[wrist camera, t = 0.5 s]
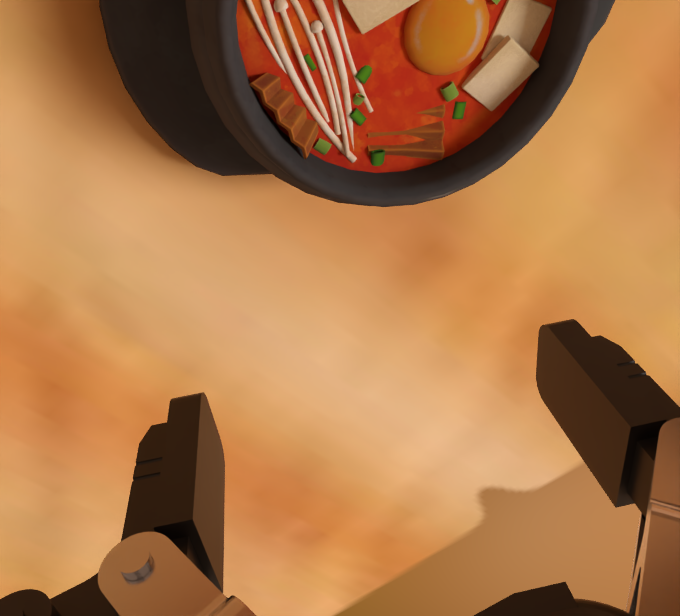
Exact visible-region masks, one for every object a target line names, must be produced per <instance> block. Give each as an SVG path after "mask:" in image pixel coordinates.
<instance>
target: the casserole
mask: <svg viewBox="0 0 680 616" xmlns="http://www.w3.org/2000/svg"><path fill="white" fill-rule="evenodd" d="M614 2H615V0H99V3H100V11H101V15H102V19H103V24H104V28H105V33H106V37H107V42H108V46H109V50H110V52H111V54H112V57H113V59H114V62H115V64H116V66H117V69H118V71H119V74H120V76H121V79H122V81H123V83H124V86H125V88H126V90H127V91H128V93H129V94H130V96H131V97H132V99H133V101H134V102H135V104H136V105H137V107H138V108H139V110H140V111H141V113H142V114H143V116H144V118H145V119H146V121H147V122H148V123H149V124H150V125H151V126H152V128H153V129H154V130H155V131H156V132H157V133H158V134H159V135H160V136H161V137H162V138H163V140H164V141H165V142H166V143H167V144H168V145H169V146H170V147H171V148H172V149H173V150H174V151H176V152H177V153H178V154H180V155H181V156H183V157H184V158H185V159H187V160H188V161H189V162H191V163H192V164H193V165H195V166H196V167H199V168H202V169H205V170H208V171H210V172H213V173H216V174H219V175H222V176H230V175H255V174H273V175H275V176H276V177H277V178H279V179H281V180H283V181H285V182H287V183H289V184H290V185H292V186H294V187H296V188H298V189H300V190H302V191H304V192H306V193H308V194H311V195H315V196H318V197H321V198H325V199H328V200H331V201H335V202H338V203H347V204H356V205H365V206H379V207H389V206H402V205H414V204H418V203H422V202H426V201H430V200H434V199H438V198H442V197H445V196H448V195H450V194H452V193H454V192H457V191H459V190H461V189H463V188H466V187H468V186H470V185H473V184H475V183H476V182H478V181H479V180H481V179H482V178H484V177H485V176H487V175H489V174H490V173H492V172H493V171H495V170H496V169H498V168H500V167H501V166H503V165H504V164H505V163H506V162H507V161H508V160H509V159H510V158H512V157H513V156H514V155H515V154H516V153H517V152H518V151H520V150H521V149H522V148H523V147H524V146H525V145H526V144H528V143H529V141H530V140H531V139H532V138H533V137H534V136H535V134H536V133H537V132H538V131H539V130H540V128H541V127H542V126H543V125H544V124H545V123H546V121H547V120H548V119H549V118H550V117H551V116H552V114H553V112H554V111H555V109H556V108H557V106H558V104H559V103H560V101H561V100H562V98H563V96H564V95H565V93H566V92H567V90H568V88H569V87H570V85H571V84H572V81H573V79H574V77H575V74H576V72H577V70H578V68H579V65H580V63H581V61H582V58H583V56H584V54H585V52H586V49H587V47H588V44H589V43H590V41H591V40H592V39H593V38H594V36H595V35H596V34H597V32H598V31H599V30H600V29H601V27H602V26H603V25H604V23H605V22H606V19H607V17H608V15H609V13H610V10H611V8H612V6H613V4H614Z"/></svg>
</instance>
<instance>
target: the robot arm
mask: <svg viewBox="0 0 680 616" xmlns="http://www.w3.org/2000/svg"><path fill="white" fill-rule="evenodd" d="M536 381H537V387H538V390H539V393H540V396H541V398H542V400H543V401H544V403H545V404H546V406H547V407H548V409H549V410H550V412H551V413H552V415H553V416H554V418H555V419H556V421H557V422H558V424H559V425H560V426H561V428H562V429H563V431H564V432H565V434H566V435H567V437H568V438H569V440H570V441H571V443H572V444H573V446H574V447H575V449H576V450H577V451H578V453H579V454H580V456H581V457H582V459H583V460H584V462H585V463H586V464H587V466H588V468H589V469H590V471H591V472H592V473H593V475H594V476H595V478H596V479H597V481H598V482H599V484H600V485H601V487H602V488H603V490H604V491H605V493H606V494H607V496H608V497H609V498H610V500H611V501H612V503H613V504H614V506H615V507H620V506H625V505H629V504H633V503H635V504H636V505H637V507H638V508H639V510H640V511H641V516H640V520H639V527H638V534H637V541H636V547H635V555H634V561H633V569H632V576H631V583H630V589H629V596H628V601H627V607H626V612H625V611H623V610H621V609H618V608H616V607H613V606H610V605H607V604H604V603H600V602H596V601H590V600H584V599H574V598H573V596H572V594H571V592H570V590H569V588H568V586H567V584H566V582H562V583H558V584H553V585H549V586H545V587H540V588H536V589H531V590H527V591H523V592H518V593H514V594H512V595H510V596H509V597H507V598H505V599H503V600H501V601H499V602H498V603H496V604H494V605H492V606H490V607H488V608H487V609H485V610H483V611H481V612H479V613H478V614H476V615H474V616H680V407H679V406H678V405H677V404H676V403H675V402H674V401H673V400H672V399H671V398H670V397H669V396H668V395H667V394H666V393H665V392H664V391H663V390H662V389H661V387H660V386H659V385H658V384H657V383H656V382H655V381H654V380H653V379H652V378H651V377H650V376H649V375H648V376H647V375H646V372H645V371H644V370H643V369H642V368H641V367H640V366H639V365H638V364H635V361H634V360H633V358H632V357H631V356H630V355H629V354H628V353H627V352H626V351H625V350H624V349H623V348H622V347H621V346H619V345H617V344H615V343H614V342H612V341H610V340H608V339H606V338H604V337H602V336H595V337H591V336H590V335H589V334H588V333H587V332H586V330H585V329H584V328H583V327H582V326H581V325H580V324H579V323H578V322H577V321H576V320H574V319H571V320H566V321H561V322H556V323H551V324H546V325H542V326H541V327H540V330H539V337H538V352H537V368H536ZM224 489H225V461H224V453H223V447H222V443H221V439H220V436H219V433H218V430H217V427H216V424H215V421H214V418H213V415H212V412H211V409H210V406H209V403H208V400H207V397H206V395H205V394H204V393H198V394H193V395H188V396H183V397H178V398H173V399H171V401H170V405H169V413H168V420H167V423H162V424H157V425H152V426H151V427H150V429H149V430H148V432H147V433H146V435H145V436H144V437H143V439H142V440H141V442H140V443H139V448H138V453H137V459H136V466H135V469H134V475H133V482H132V486H131V491H130V496H129V502H128V507H127V513H126V518H125V523H124V529H123V534H122V539H121V542H120V543H118V544H117V545H116V546H115V547H114V548H113V549H112V550H111V551H110V552H109V553H108V554H107V556H106V557H105V558H104V560H103V562H102V564H101V566H100V569H99V572H98V573H97V574H96V575H94V576H93V577H91V578H90V579H88V580H86V581H85V582H83V583H81V584H79V585H77V586H75V587H73V588H71V589H69V590H67V591H65V592H63V593H61V594H59V595H57V596H55V597H53V598H51V599H49V598H48V597H47V595H46V594H44V593H43V592H41V591H39V590H33V589H27V590H21V591H17V592H14V593H12V594H9V595H7V596H5V597H4V598H2V599H0V616H256V615H255V614H254V613H253V612H252V611H251V610H250V609H249V608H248V607H247V606H246V605H245V604H244V603H243V602H242V601H241V600H240V599H238V598H237V597H235V596H231V597H229V598H227V597H226V596H225V595H224V594H223V561H224Z"/></svg>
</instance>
